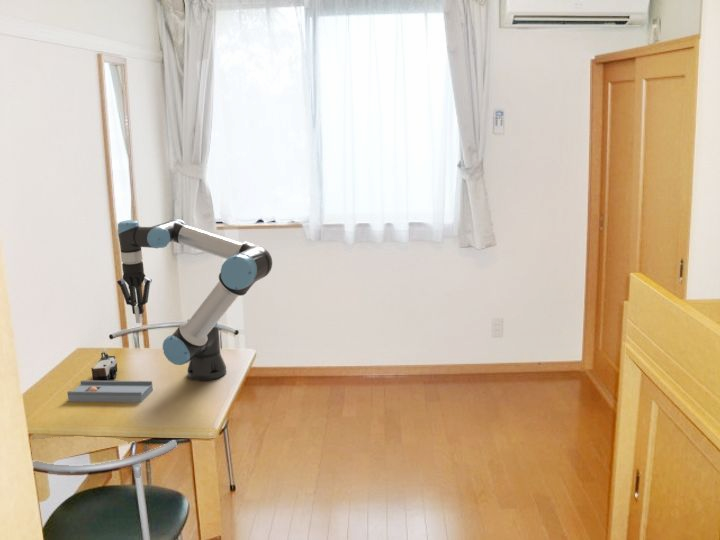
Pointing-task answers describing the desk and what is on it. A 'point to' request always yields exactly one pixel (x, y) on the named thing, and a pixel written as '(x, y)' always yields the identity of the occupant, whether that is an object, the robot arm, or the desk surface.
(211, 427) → the desk surface
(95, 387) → the ball
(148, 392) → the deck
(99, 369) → the camera
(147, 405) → the desk surface
